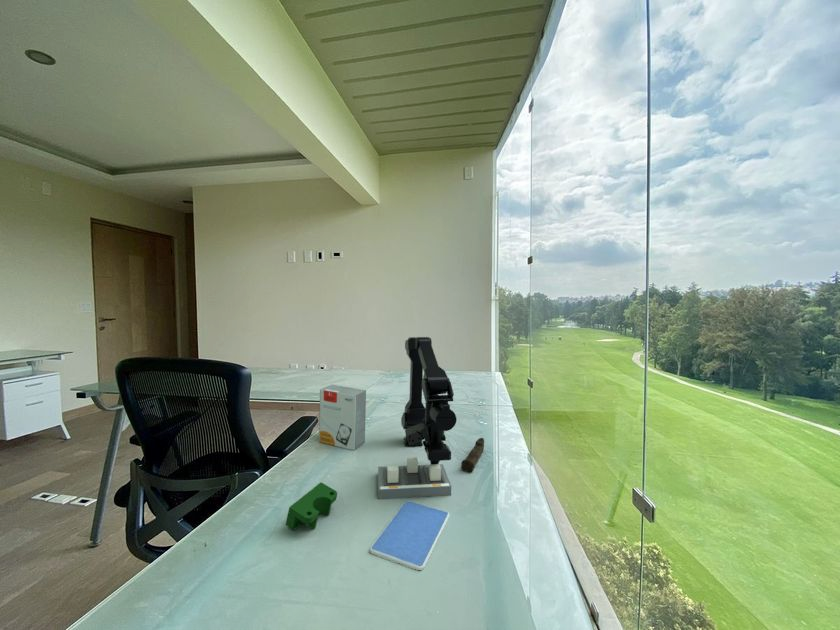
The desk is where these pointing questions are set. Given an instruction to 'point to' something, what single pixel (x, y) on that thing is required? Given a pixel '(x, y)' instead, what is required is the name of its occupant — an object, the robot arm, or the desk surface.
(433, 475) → the tab
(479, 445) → the brown wooden log
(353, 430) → the hard drive box
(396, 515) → the tablet computer
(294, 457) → the desk surface
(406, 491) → the switch panel
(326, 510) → the clamp
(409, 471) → the tab
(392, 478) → the tab
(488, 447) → the desk surface
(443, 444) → the robot arm
